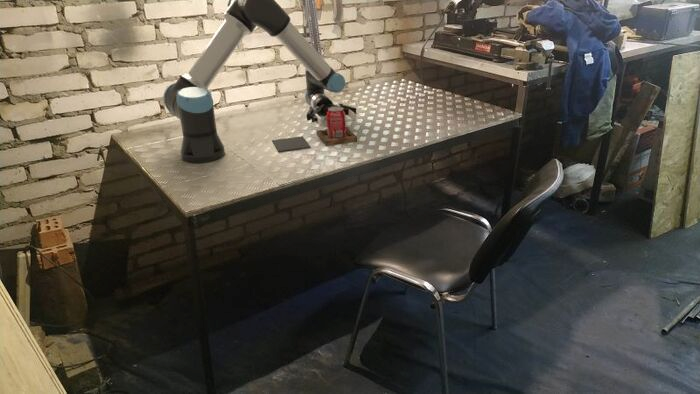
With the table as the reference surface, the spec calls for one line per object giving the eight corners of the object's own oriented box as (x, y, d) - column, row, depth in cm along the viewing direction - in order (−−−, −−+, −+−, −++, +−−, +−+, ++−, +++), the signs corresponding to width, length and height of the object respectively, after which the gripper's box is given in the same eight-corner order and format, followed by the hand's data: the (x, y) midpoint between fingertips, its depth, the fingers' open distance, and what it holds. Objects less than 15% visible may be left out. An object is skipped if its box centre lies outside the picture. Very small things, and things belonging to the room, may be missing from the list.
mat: (278, 152, 187) (278, 151, 187) (272, 141, 197) (272, 140, 197) (310, 147, 190) (310, 146, 190) (302, 137, 201) (302, 136, 200)
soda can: (337, 134, 203) (336, 104, 198) (349, 138, 199) (349, 108, 193) (323, 138, 199) (322, 108, 194) (336, 143, 194) (335, 112, 189)
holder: (325, 146, 192) (325, 141, 191) (316, 135, 202) (316, 130, 202) (357, 141, 195) (357, 136, 194) (346, 131, 206) (346, 126, 205)
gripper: (350, 110, 217) (369, 125, 199) (293, 117, 210) (306, 133, 192) (350, 92, 214) (369, 106, 196) (292, 99, 207) (305, 114, 189)
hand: (338, 120), depth 194 cm, fingers open, 13 cm apart
